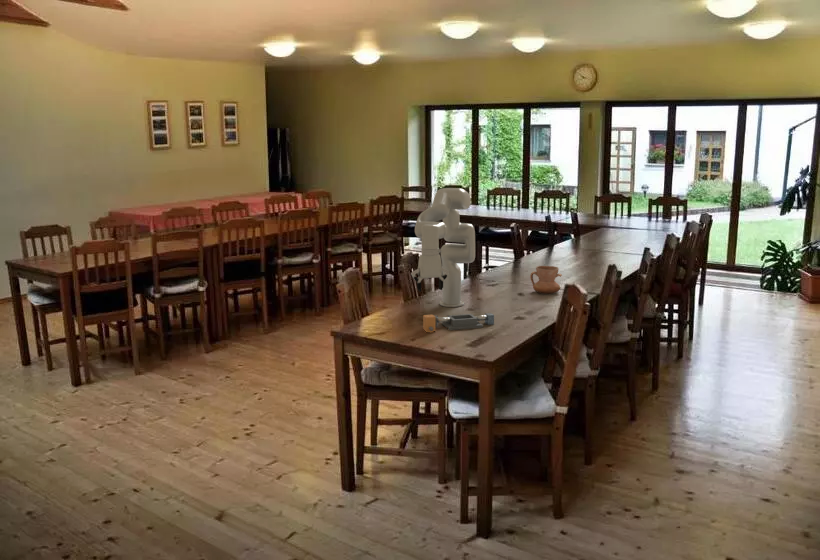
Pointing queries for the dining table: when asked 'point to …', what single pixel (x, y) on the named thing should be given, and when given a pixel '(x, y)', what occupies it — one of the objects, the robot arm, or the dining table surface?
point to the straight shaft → (486, 318)
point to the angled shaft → (441, 320)
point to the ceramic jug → (546, 279)
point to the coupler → (429, 323)
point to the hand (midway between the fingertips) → (430, 290)
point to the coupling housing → (462, 322)
